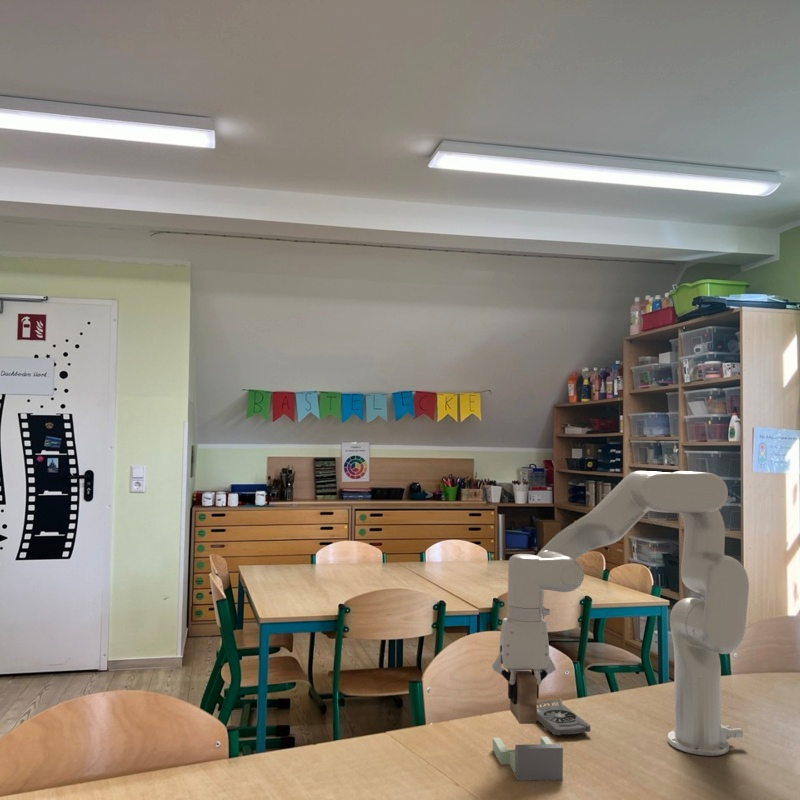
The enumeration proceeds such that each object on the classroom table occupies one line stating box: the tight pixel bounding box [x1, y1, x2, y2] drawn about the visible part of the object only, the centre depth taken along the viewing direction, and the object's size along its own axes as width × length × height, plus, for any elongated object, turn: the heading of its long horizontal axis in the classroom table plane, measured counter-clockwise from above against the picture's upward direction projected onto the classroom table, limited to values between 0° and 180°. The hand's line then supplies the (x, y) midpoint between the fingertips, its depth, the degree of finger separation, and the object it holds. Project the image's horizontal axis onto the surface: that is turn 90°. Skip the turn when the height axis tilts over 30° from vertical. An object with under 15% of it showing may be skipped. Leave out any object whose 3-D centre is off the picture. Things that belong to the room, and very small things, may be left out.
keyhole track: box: [492, 736, 564, 782], centre depth 152 cm, size 12×15×6 cm
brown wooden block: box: [509, 670, 538, 725], centre depth 156 cm, size 4×8×9 cm, turn 6°
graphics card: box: [536, 698, 591, 737], centre depth 174 cm, size 17×4×12 cm
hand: (523, 701), depth 157 cm, fingers closed on brown wooden block, 3 cm apart
